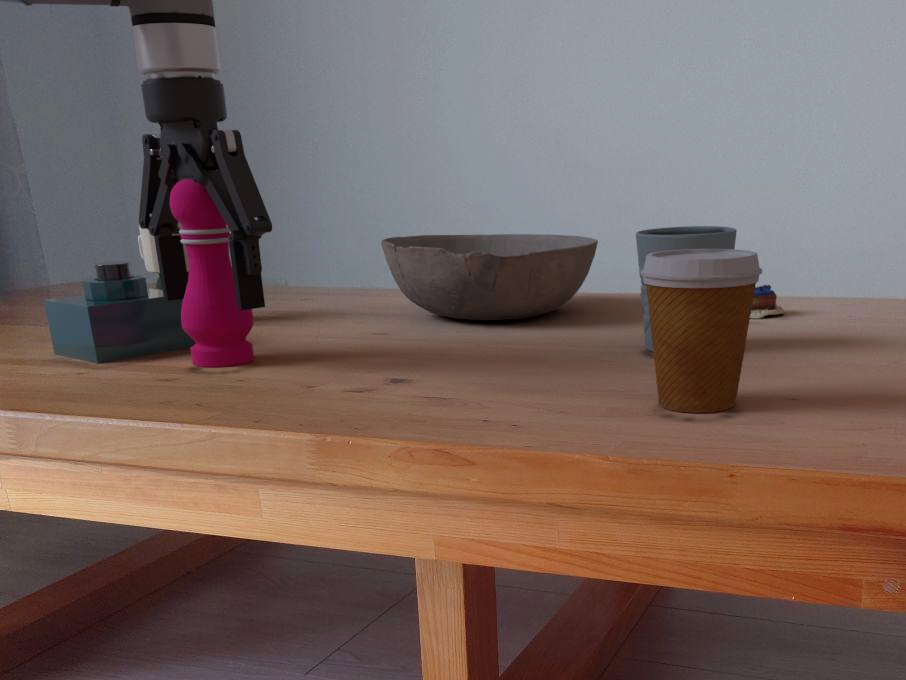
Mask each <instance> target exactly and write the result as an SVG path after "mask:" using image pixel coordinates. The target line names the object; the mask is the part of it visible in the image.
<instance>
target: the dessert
mask: <svg viewBox="0 0 906 680" xmlns="http://www.w3.org/2000/svg"><path fill="white" fill-rule="evenodd" d="M777 297H778V295H777V294H776V293H775V291H774V290H773V289H772V286H771V285H770V284H763V285H760V286H755V291H754V297H753V304H752V309H751V315H750V319H755V320H757V319H761V318H764V317H765V316H769V315H772V316H773V315H780V314H781V315H782V314H785V310H784V308H783V307H782V306H780V305H778V304H777V299H778V298H777Z"/></svg>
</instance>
